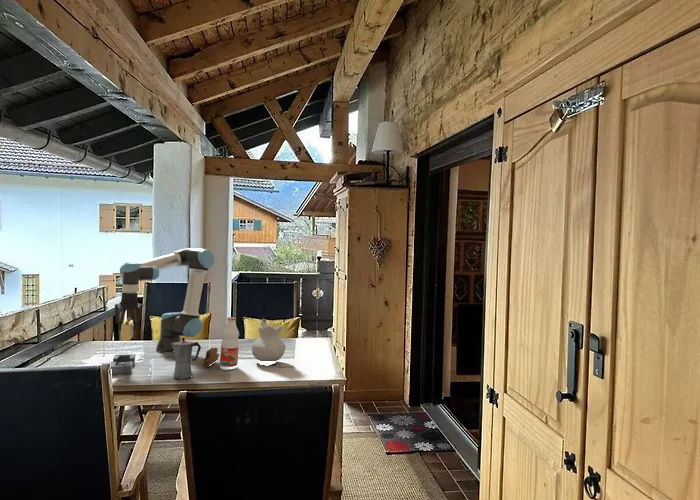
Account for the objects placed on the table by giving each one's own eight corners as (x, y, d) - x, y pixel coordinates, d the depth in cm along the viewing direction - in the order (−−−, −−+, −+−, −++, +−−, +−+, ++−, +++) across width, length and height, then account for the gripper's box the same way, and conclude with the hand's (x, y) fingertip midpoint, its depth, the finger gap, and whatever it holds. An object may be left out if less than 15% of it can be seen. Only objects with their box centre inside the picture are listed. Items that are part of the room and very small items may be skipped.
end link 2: (130, 374, 219) (131, 365, 219) (108, 375, 216) (108, 366, 216) (132, 370, 227) (132, 361, 227) (110, 371, 223) (111, 362, 223)
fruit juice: (240, 367, 244) (243, 317, 244) (230, 371, 236) (233, 320, 235) (226, 364, 248) (230, 315, 248) (215, 368, 239) (219, 317, 239)
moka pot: (171, 373, 225) (173, 335, 225) (201, 374, 227) (204, 336, 227) (164, 379, 216) (167, 339, 216) (196, 380, 217) (199, 340, 217)
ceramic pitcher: (242, 362, 259) (242, 321, 257) (269, 355, 273) (269, 316, 271) (264, 371, 244) (264, 327, 242) (291, 363, 258) (292, 322, 256)
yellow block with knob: (124, 334, 234) (125, 317, 234) (132, 334, 236) (133, 317, 236) (120, 340, 220) (122, 322, 220) (129, 340, 222) (131, 322, 222)
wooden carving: (211, 361, 252) (212, 344, 252) (219, 362, 252) (220, 344, 252) (200, 369, 236) (201, 351, 236) (209, 370, 236) (210, 351, 236)
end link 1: (114, 362, 237) (115, 354, 237) (134, 362, 241) (135, 354, 241) (112, 367, 230) (113, 358, 230) (133, 366, 233) (134, 358, 233)
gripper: (110, 292, 221) (107, 338, 222) (147, 293, 228) (144, 338, 228) (112, 290, 228) (109, 335, 228) (148, 291, 235) (145, 335, 235)
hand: (126, 336), depth 228 cm, fingers closed on yellow block with knob, 4 cm apart
